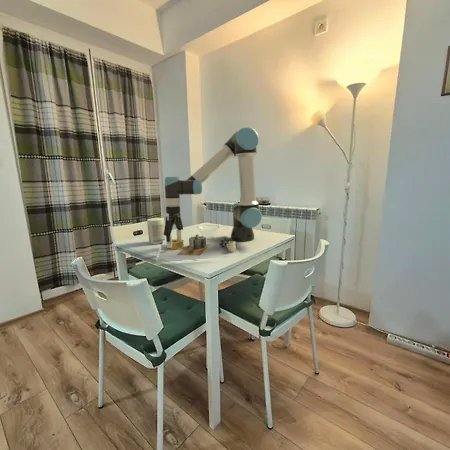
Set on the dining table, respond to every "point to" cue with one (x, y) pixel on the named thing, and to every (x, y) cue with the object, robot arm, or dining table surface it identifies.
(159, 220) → the supplement tub
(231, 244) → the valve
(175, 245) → the brass gear
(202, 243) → the gear
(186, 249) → the gear board
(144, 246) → the dining table surface
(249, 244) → the dining table surface
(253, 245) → the dining table surface
